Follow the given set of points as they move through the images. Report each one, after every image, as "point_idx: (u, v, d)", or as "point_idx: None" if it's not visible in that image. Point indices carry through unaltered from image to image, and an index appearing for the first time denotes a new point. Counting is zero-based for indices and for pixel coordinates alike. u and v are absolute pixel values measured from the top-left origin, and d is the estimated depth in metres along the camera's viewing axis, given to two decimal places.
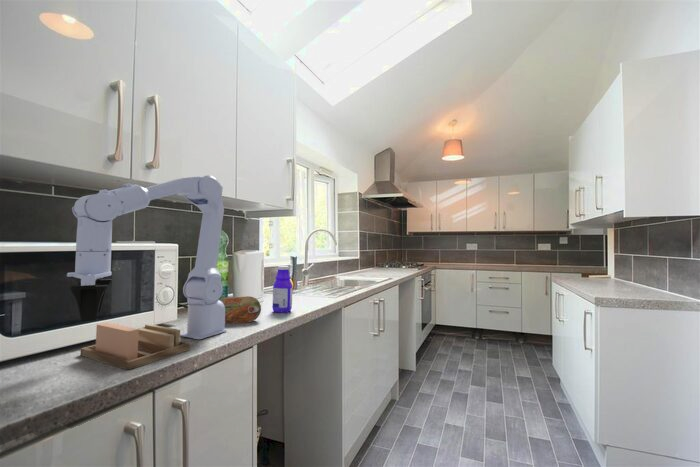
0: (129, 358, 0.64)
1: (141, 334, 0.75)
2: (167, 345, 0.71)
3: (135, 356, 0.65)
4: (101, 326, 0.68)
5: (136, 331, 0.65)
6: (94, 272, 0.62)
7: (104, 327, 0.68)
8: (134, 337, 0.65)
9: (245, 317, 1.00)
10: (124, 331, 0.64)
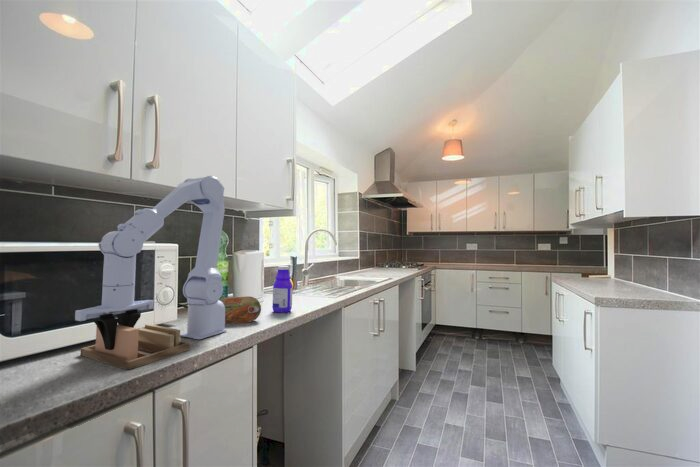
0: (129, 358, 0.64)
1: (141, 334, 0.75)
2: (167, 345, 0.71)
3: (135, 356, 0.65)
4: None
5: (136, 331, 0.65)
6: (104, 306, 0.65)
7: None
8: (134, 337, 0.65)
9: (245, 317, 1.00)
10: (124, 331, 0.64)
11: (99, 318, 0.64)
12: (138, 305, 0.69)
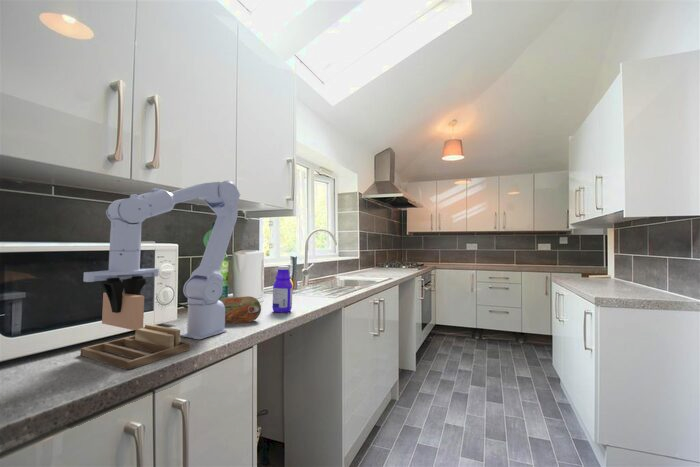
0: (135, 323, 0.66)
1: (141, 334, 0.75)
2: (167, 345, 0.71)
3: (141, 322, 0.67)
4: None
5: (142, 298, 0.67)
6: (111, 270, 0.67)
7: None
8: (140, 303, 0.67)
9: (245, 317, 1.00)
10: (130, 297, 0.67)
11: (106, 281, 0.66)
12: (144, 271, 0.71)
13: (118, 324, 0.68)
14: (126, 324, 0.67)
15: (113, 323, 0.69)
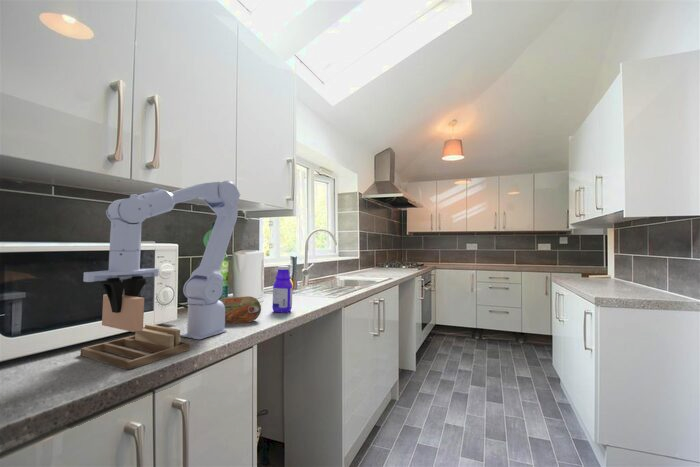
0: (135, 325, 0.66)
1: (141, 334, 0.75)
2: (167, 345, 0.71)
3: (141, 324, 0.67)
4: None
5: (142, 299, 0.67)
6: (111, 270, 0.67)
7: None
8: (140, 305, 0.67)
9: (245, 317, 1.00)
10: (130, 299, 0.67)
11: (106, 281, 0.66)
12: (144, 271, 0.71)
13: (118, 326, 0.68)
14: (126, 326, 0.67)
15: (113, 325, 0.69)
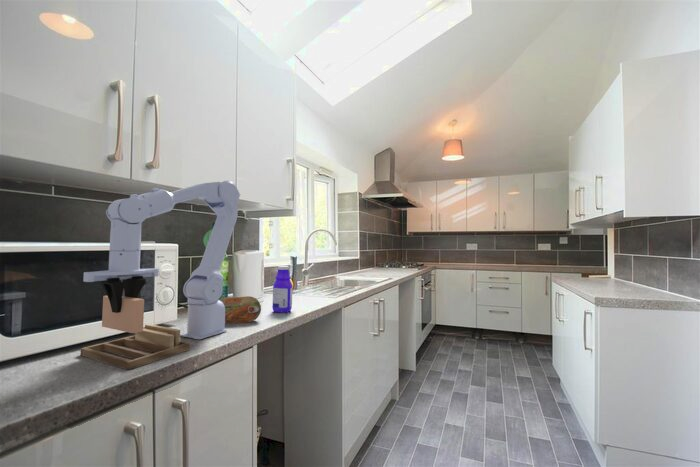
0: (135, 326, 0.66)
1: (141, 334, 0.75)
2: (167, 345, 0.71)
3: (141, 325, 0.67)
4: None
5: (142, 301, 0.67)
6: (111, 270, 0.67)
7: None
8: (140, 306, 0.67)
9: (245, 317, 1.00)
10: (130, 300, 0.67)
11: (106, 281, 0.66)
12: (144, 271, 0.71)
13: (118, 327, 0.68)
14: (126, 328, 0.67)
15: (113, 326, 0.69)
